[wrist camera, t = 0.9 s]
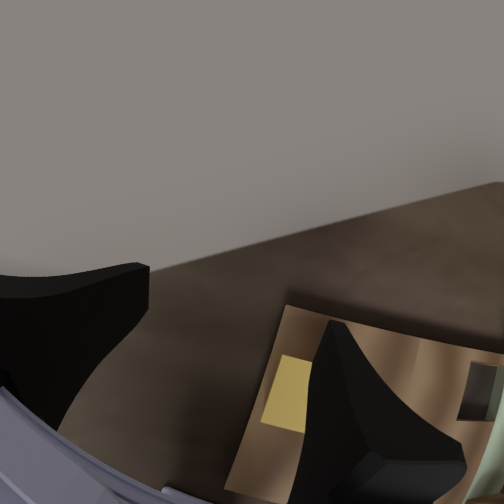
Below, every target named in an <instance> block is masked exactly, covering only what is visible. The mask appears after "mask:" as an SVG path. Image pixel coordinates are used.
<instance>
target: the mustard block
mask: <svg viewBox="0 0 504 504" xmlns="http://www.w3.org/2000/svg"><path fill="white" fill-rule="evenodd" d="M311 366H312V362H309V361H305V360H301V359H297V358H294V357H290V356H286V355H283V354H282V355H281V357H280V361H279V364H278V367H277V370H276V373H275V376H274V379H273V382H272V386H271V389H270V392H269V395H268V398H267V401H266V403H265V406H264V409H263V413H262V417H261V421H260V422H262V423H266V424H270V425H273V426H277V427H281V428H285V429H289V430H293V431H297V432H302V433H305V424H306V411H307V396H308V382H309V377H310V372H311Z"/></svg>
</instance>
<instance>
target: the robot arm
mask: <svg viewBox="0 0 504 504" xmlns="http://www.w3.org/2000/svg"><path fill="white" fill-rule="evenodd" d="M149 272H150V267H149V266H146V265H144V264H141V263H138V262H136V263H127V264H121V265H116V266H111V267H106V268H102V269H97V270H92V271H86V272H81V273H75V274H70V275H61V276H49V277H17V276H6V275H0V504H213V503H210V502H207V501H204V500H201V499H198V498H196V497H193V496H190V495H188V494H185V493H183V492H180V491H178V490H175V489H173V488H171V487H168V486H165V487H164V488H163V489H162V491H161V492H160V491H157V490H155V489H153V488H151V487H149V486H146V485H144V484H142V483H140V482H138V481H136V480H134V479H132V478H130V477H128V476H126V475H124V474H122V473H121V472H119V471H117V470H115V469H113V468H112V467H110V466H108V465H106V464H105V463H103V462H101V461H99V460H98V459H96V458H95V457H93V456H91V455H90V454H88V453H87V452H85V451H83V450H82V449H80V448H79V447H77V446H76V445H74V444H73V443H71V442H70V441H69V440H67V439H66V438H64V437H63V436H62V435H60V434H59V433H57V430H58V428H59V426H60V424H61V422H62V420H63V418H64V416H65V414H66V412H67V410H68V409H69V407H70V405H71V403H72V402H73V400H74V398H75V397H76V395H77V394H78V392H79V391H80V389H81V388H82V386H83V385H84V383H85V382H86V380H87V379H88V378H89V376H90V375H91V374H92V372H93V371H94V370H95V368H96V367H97V366H98V364H99V363H100V362H101V361H102V360H103V359H104V358H105V357H106V356H107V355H108V354H109V353H110V352H111V351H112V350H113V349H114V348H115V347H116V346H117V345H118V344H119V343H120V342H121V341H122V340H123V339H124V338H125V337H126V336H127V335H128V334H129V333H130V332H131V331H132V330H133V329H134V328H135V326H136V325H137V324H138V323H139V321H140V320H141V319H142V317H143V316H144V315H145V313H146V312H147V310H148V303H149ZM466 471H467V464H466V460H465V456H464V452H463V448H462V444H461V443H460V442H458V441H457V440H455V439H453V438H452V437H450V436H448V435H446V434H445V433H443V432H441V431H440V430H438V429H437V428H435V427H434V426H432V425H431V424H430V423H428V422H427V421H426V420H424V419H423V418H422V417H420V416H419V415H418V414H417V413H415V412H414V411H413V410H412V409H411V408H410V407H409V406H408V405H406V404H405V403H404V402H403V401H402V400H401V399H400V398H399V397H398V396H397V395H396V394H395V393H394V392H393V391H392V390H391V388H390V387H389V386H388V385H387V384H386V383H385V382H384V381H383V379H382V378H381V377H380V376H379V374H378V373H377V372H376V370H375V369H374V368H373V366H372V365H371V364H370V362H369V361H368V359H367V358H366V356H365V355H364V353H363V352H362V350H361V348H360V347H359V345H358V344H357V342H356V340H355V339H354V337H353V335H352V334H351V332H350V330H349V329H348V327H347V325H346V324H345V323H343V322H339V321H335V320H331V319H329V321H328V323H327V326H326V329H325V331H324V334H323V336H322V339H321V341H320V344H319V346H318V349H317V351H316V354H315V356H314V359H313V361H312V366H311V372H310V377H309V382H308V396H307V411H306V424H305V434H304V441H303V446H302V450H301V454H300V459H299V463H298V467H297V471H296V475H295V479H294V482H293V486H292V489H291V492H290V496H289V499H288V502H287V504H433V502H434V501H436V500H437V499H439V498H440V497H441V496H443V495H444V494H446V493H447V492H448V491H450V490H451V489H452V488H454V487H455V486H456V485H457V484H458V483H459V482H460V481H461V480H462V478H463V477H464V475H465V474H466Z"/></svg>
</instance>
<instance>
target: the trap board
mask: <svg viewBox="0 0 504 504" xmlns="http://www.w3.org/2000/svg"><path fill="white" fill-rule="evenodd" d="M329 319H331V320H335V321H339V322H343V323H345V324H346V325H347V327H348V329H349V330H350V332H351V334H352V335H353V337H354V339H355V340H356V342H357V344H358V345H359V347H360V348H361V350H362V352H363V353H364V355H365V356H366V358H367V359H368V361H369V362H370V364H371V365H372V366H373V368H374V369H375V370H376V372H377V373H378V374H379V376H380V377H381V378H382V379H383V381H384V382H385V383H386V384H387V385H388V386H389V387H390V388H391V390H392V391H393V392H394V393H395V394H396V395H397V396H398V397H399V398H400V399H401V400H402V401H403V402H404V403H405V404H406V405H408V406H409V407H410V408H411V409H412V410H413V411H414V412H415V413H417V414H418V415H419V416H420V417H422V418H423V419H424V420H426V421H427V422H428V423H430V424H431V425H432V426H434V427H435V428H437V429H438V430H440V431H441V432H443V433H445V434H446V435H448V436H450V437H452V438H453V439H455V440H457V441H458V442H460V443H461V444H462V448H463V452H464V456H465V460H466V464H467V471H466V474H465V475H464V477H463V478H462V480H461V481H460V482H459V483H458V484H457V485H456V486H455V487H454V488H452V489H451V490H450V491H448V492H447V493H446V494H444V495H443V496H441V497H440V498H439V499H437V500H436V501H434V502H433V504H504V354H498V353H493V352H487V351H482V350H476V349H471V348H466V347H461V346H456V345H451V344H446V343H441V342H437V341H432V340H427V339H423V338H418V337H414V336H409V335H405V334H400V333H396V332H392V331H388V330H383V329H379V328H375V327H371V326H367V325H363V324H359V323H354V322H350V321H346V320H343V319H339V318H335V317H331V316H327V315H323V314H319V313H316V312H312V311H308V310H304V309H301V308H297V307H293V306H290V305H286V306H285V310H284V313H283V316H282V320H281V323H280V326H279V330H278V333H277V336H276V339H275V343H274V346H273V349H272V352H271V355H270V359H269V362H268V365H267V368H266V371H265V374H264V377H263V380H262V383H261V386H260V389H259V392H258V395H257V398H256V401H255V404H254V407H253V410H252V413H251V416H250V419H249V422H248V424H247V427H246V430H245V433H244V436H243V439H242V441H241V444H240V447H239V450H238V452H237V455H236V458H235V460H234V463H233V466H232V468H231V471H230V474H229V476H228V479H227V481H226V484H225V487H224V489H226V490H229V491H232V492H236V493H239V494H243V495H246V496H250V497H254V498H258V499H262V500H266V501H270V502H275V503H280V504H287V502H288V499H289V496H290V492H291V489H292V486H293V482H294V479H295V475H296V471H297V467H298V463H299V459H300V454H301V450H302V446H303V441H304V434H305V433H302V432H297V431H293V430H289V429H285V428H281V427H277V426H273V425H270V424H266V423H262V422H260V421H261V417H262V413H263V409H264V406H265V403H266V401H267V398H268V395H269V392H270V389H271V386H272V382H273V379H274V376H275V373H276V370H277V367H278V364H279V361H280V357H281V355H282V354H283V355H286V356H290V357H294V358H297V359H301V360H305V361H309V362H312V361H313V359H314V356H315V354H316V351H317V349H318V346H319V344H320V341H321V339H322V336H323V334H324V331H325V329H326V326H327V323H328V321H329Z"/></svg>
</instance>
